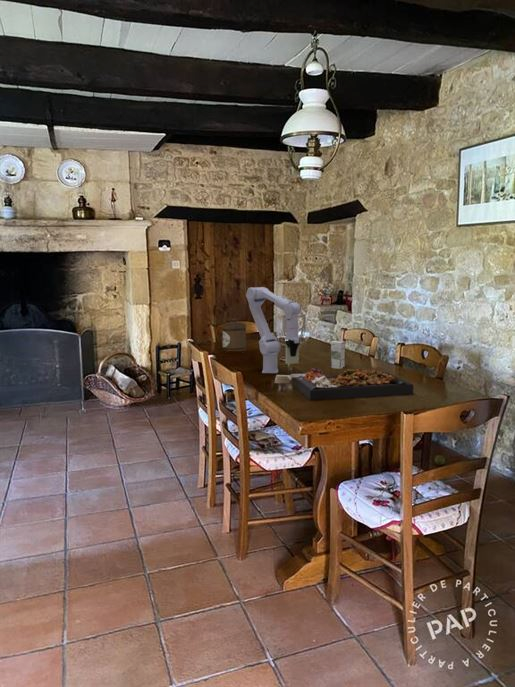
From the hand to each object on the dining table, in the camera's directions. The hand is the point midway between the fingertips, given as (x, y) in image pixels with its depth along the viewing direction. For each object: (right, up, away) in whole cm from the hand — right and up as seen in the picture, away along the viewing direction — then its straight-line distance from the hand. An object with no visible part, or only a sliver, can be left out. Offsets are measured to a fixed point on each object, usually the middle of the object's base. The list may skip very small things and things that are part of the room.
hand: (292, 355), depth 242 cm
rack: (-4, -11, -3) cm, 12 cm away
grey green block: (0, -4, 0) cm, 4 cm away
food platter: (+24, -15, -24) cm, 37 cm away
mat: (+3, -10, +3) cm, 11 cm away
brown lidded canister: (-31, 0, +71) cm, 77 cm away
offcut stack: (-5, -12, -10) cm, 17 cm away
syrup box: (+25, -7, +22) cm, 34 cm away
